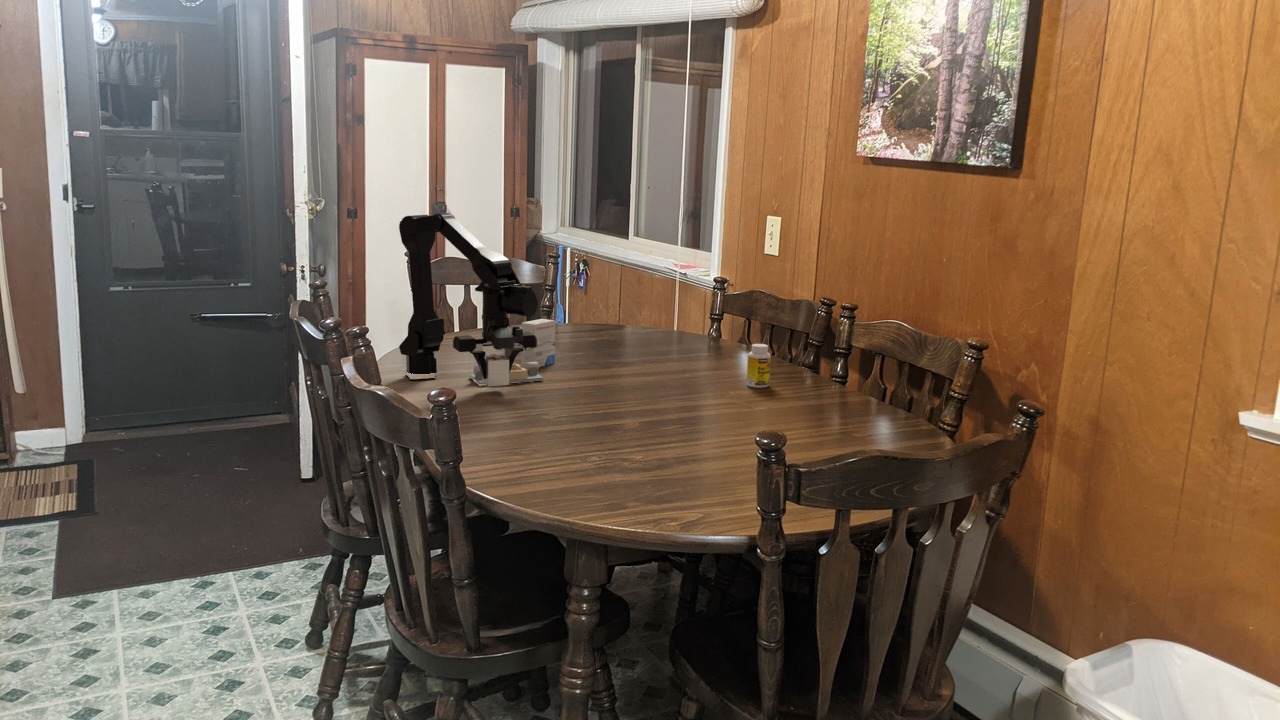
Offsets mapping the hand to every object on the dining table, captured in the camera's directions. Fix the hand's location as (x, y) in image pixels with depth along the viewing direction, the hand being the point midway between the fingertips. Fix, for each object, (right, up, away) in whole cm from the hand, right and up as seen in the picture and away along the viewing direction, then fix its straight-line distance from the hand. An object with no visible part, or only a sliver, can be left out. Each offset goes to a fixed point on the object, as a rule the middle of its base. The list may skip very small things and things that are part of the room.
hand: (495, 377), depth 233 cm
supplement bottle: (+63, -2, +13) cm, 64 cm away
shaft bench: (+1, -1, +12) cm, 13 cm away
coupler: (0, -1, 0) cm, 1 cm away
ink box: (+7, +3, +30) cm, 31 cm away
